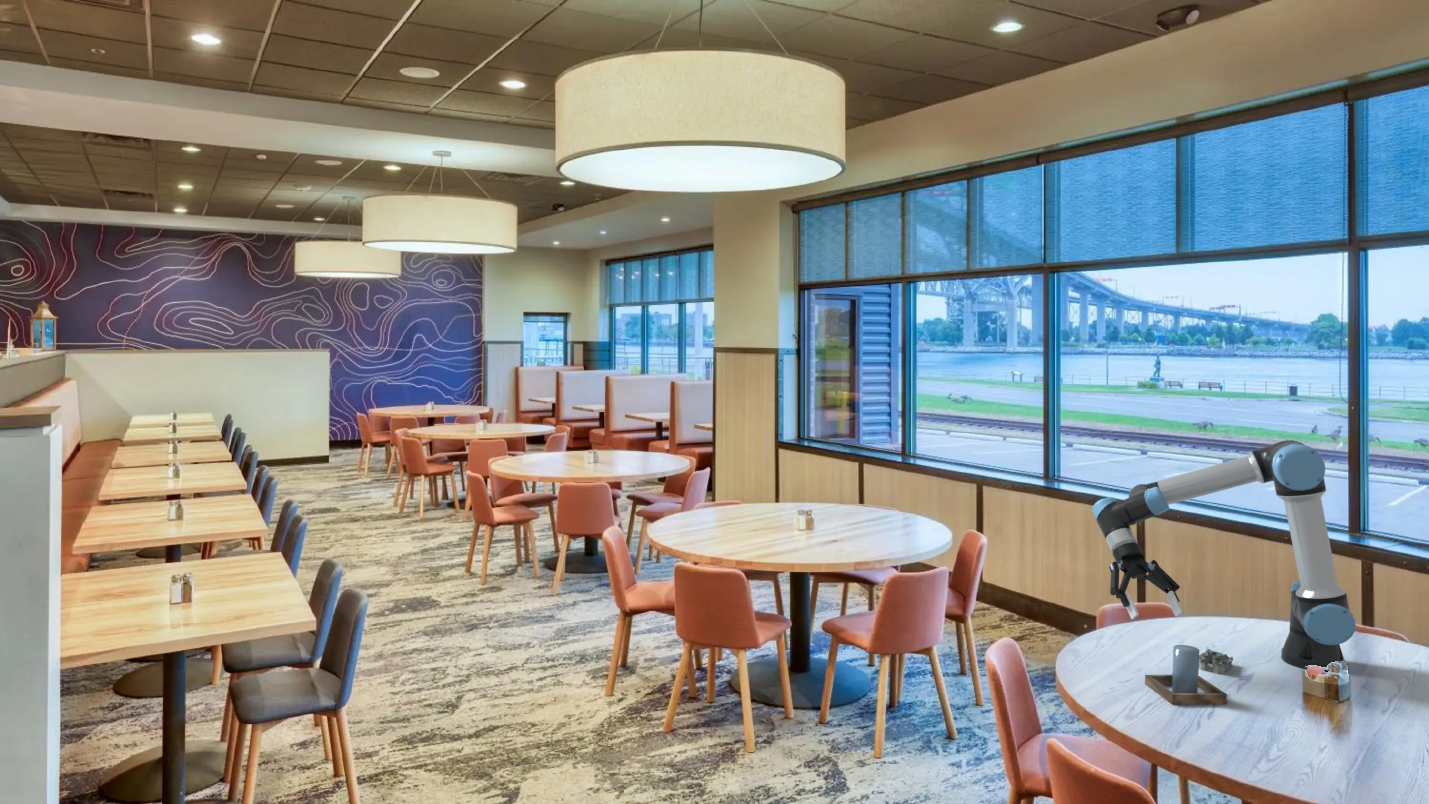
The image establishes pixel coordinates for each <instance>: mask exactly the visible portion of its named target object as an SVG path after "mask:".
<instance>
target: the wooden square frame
mask: <svg viewBox="0 0 1429 804" xmlns="http://www.w3.org/2000/svg"><path fill="white" fill-rule="evenodd" d="M1144 684H1145V686H1147V687H1148V688H1149V689H1151V690H1152V691H1153V692H1155V693H1156V694H1157V695H1159V696H1160V697H1161V698H1163V699H1164V700H1166V701H1167V702H1168V703H1170V704H1171V705H1227V704H1228V702H1227V699H1228V694H1227V693H1226V692H1225V691H1222V689H1220V688H1218V687H1217V686H1215V685H1214V684H1212V683H1211V682H1209V681H1207V680H1206V679H1204V678H1203V677H1201V676H1200V675H1198V689H1200V690H1202V692H1198V693H1173V692H1172V690H1171V689H1169V688H1167V686H1172V674H1144Z"/></svg>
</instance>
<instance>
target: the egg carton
mask: <svg viewBox="0 0 1429 804" xmlns="http://www.w3.org/2000/svg"><path fill="white" fill-rule="evenodd" d="M1233 661H1234V656H1228V654H1227V653H1222V652H1219V651H1215V650H1212V649H1210V648H1208V649H1207V650H1206V651H1205V652H1202V653H1201V654H1199V670H1201V671H1203V672H1206V671H1210V672H1213V674H1215V675H1219V674H1221V675H1224V674H1225V673H1226V672H1228V670H1229V669H1232V668H1233V665H1232V664H1233ZM1210 662H1211V663H1212V664H1211V663H1210Z"/></svg>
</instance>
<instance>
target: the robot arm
mask: <svg viewBox="0 0 1429 804" xmlns="http://www.w3.org/2000/svg"><path fill="white" fill-rule="evenodd" d="M1325 473H1326V465H1325V462H1324V459H1323V457H1322V455H1320V453H1319V452H1318V451H1317V450H1315V449H1314V448H1313V447H1311V446H1309V445H1307V444H1304V443H1302V442H1301V441H1297V440H1288V439H1287V440H1282V441H1278V442H1275V443H1272V444H1269V445H1267V446H1264V447H1261V448H1258V449H1254V450H1250V451H1249V453H1248V454H1247V455H1246V456H1243V457H1239V458H1236V459H1232V460H1229V461H1224V462H1220V463H1217V464H1214V465H1209V466H1207V467H1204V468H1200V469H1196V470H1193V471H1188V472H1185V473H1182V474H1179V475H1178V474H1177V475H1175V476H1171V477H1168V478H1164V479H1160V480H1157V481H1154V482H1150V483H1146V484H1145V483H1140V484H1137V485H1134V486H1133V487H1132V488H1131V489H1130V491H1129V494H1128V497H1127V498H1125V499H1122V500H1120V501H1119V500H1117V499H1116V498H1115V497H1105V498H1101V499H1099V500H1097V501H1096V502H1095V503H1094V504H1093V507H1092V512H1093V514H1094V515H1093V516H1094V517H1095V521H1096V522H1097V525H1098V526H1099V529H1100V530H1101V533H1102V535H1103V537H1104V540H1105V541H1106V543H1107V545H1108V547H1109V550H1110V551H1111V553H1112V556H1113V558H1114V561H1113V562H1111V564H1110V565H1109V566H1108V568H1109V571H1110V584H1109V585H1110V588H1109V593H1110V596H1115V598H1116V599H1119V600H1120V602H1121V604H1122V607H1124V608H1126V611H1127V613H1128V615H1129V618H1130V619H1131V620H1135V619H1136V618H1137V617H1138V616H1139V612H1138V609H1137V607H1136V605H1135V602H1134V601H1133V599H1132V597H1131V595H1130V593H1129V592H1126V591H1127V589H1128V586H1129V584H1130V581H1131V579H1132V580H1135V579H1144V580H1145V581H1148V582H1150V583H1151V584H1152V585H1154V586H1155V587H1157V588H1158V589H1159V590H1161V591H1162V592H1164V593H1165V598H1166V600H1167V603H1168V604H1169V606H1170V608H1171V610H1172V613H1173V615H1174V616H1175V618H1178V617H1180V616H1181V615H1182V614H1183V613H1184V610H1183V609H1182V607H1181V604H1180V598H1179V597H1178V595H1177V593H1176V592H1177V591H1178V590H1179V589H1181V586H1180V585H1179V584H1178V583H1177V582H1176V581H1175V580H1174V579H1173V578H1172V577H1171V576H1170V575H1169V574H1168V573H1167V572H1166V571H1165V570H1163V568H1162V567H1161V566H1160V565H1159V564H1158V562H1157V561H1156V560H1155V559H1153V560H1152V561H1149V562H1147V561H1146V560H1145V557H1144V553H1143V551H1142V550H1143V549H1142V548H1141V547H1140V544H1139V543H1138V540H1137V538H1136V536H1135V535H1134V532H1133V530H1132V528H1131V526H1134V525H1136V524H1139V523H1141V522H1144V521H1146V520H1149V519H1151V518H1154V517H1156V516H1160V515H1161V514H1163V513H1165V512H1167V511H1169V509H1170V506H1169V505H1172V504H1177V503H1179V502H1183V501H1188V500H1191V499H1195V498H1200V497H1202V496H1203V497H1204V496H1206V495H1210V494H1214V493H1218V492H1222V491H1225V490H1229V489H1233V488H1236V487H1241V486H1244V485H1249V484H1252V483H1256V482H1259V483H1261V484H1265V483H1270V482H1273V485H1274V490H1275V495H1276V497H1278V498H1279V499H1281V500H1282V501H1283V502H1284V506H1285V507H1284V509H1285V512H1286V518H1287V523H1288V527H1289V528H1288V529H1289V533H1290V538H1291V543H1292V549H1293V553H1294V559H1295V565H1296V569H1297V574H1298V580H1299V581H1298V580H1297V581H1294V582H1293V583H1292V585H1291V590H1290V594H1291V596H1290V615H1289V632H1288V635H1287V637H1286V640H1285V642H1284V645H1283V647H1282V648H1281V650H1280V651H1281V655H1280V658H1281V660H1282V661H1284V662H1285V663H1287V664H1289V665H1292V666H1295V667H1299V668H1302V669H1305V668H1304V667H1305V666H1308V665H1317V666H1321V667H1327V665H1328V664H1329V663H1331V662H1335V661H1344V662H1345V656H1344V655H1343V651H1342V648H1341V644H1345V642H1347V641H1348V640H1350V639H1351V638H1352V637H1353V636H1354V634H1355V632H1356V620H1355V619H1356V618H1355V617H1354V614H1353V613H1352V612H1351V611H1350V605H1349V600H1348V595H1347V590H1346V589H1345V588H1343V587H1342V586H1340V584H1338V578H1337V573H1336V568H1335V563H1334V557H1333V553H1332V549H1331V548H1332V547H1331V543H1330V536H1329V532H1328V527H1327V523H1326V517H1325V511H1324V507H1323V501H1322V496H1324V494H1325V493H1326V492H1327V486H1326V483H1325ZM1120 571H1121V572H1122V573H1123V576H1122V580H1121V581H1120ZM1120 582H1121V583H1120Z"/></svg>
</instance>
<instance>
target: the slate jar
mask: <svg viewBox="0 0 1429 804" xmlns="http://www.w3.org/2000/svg"><path fill="white" fill-rule="evenodd" d="M1172 649H1173V651H1172V652H1173V654H1172V674H1171V675H1172V685H1171V691H1172V692H1173V693H1199V691H1198V690H1199V688H1198V676H1199V673H1200V672H1199V670H1200V669H1199V655H1200V649H1199V648H1198V647H1195V646H1192V645H1187V644H1175V645H1173V647H1172Z"/></svg>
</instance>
